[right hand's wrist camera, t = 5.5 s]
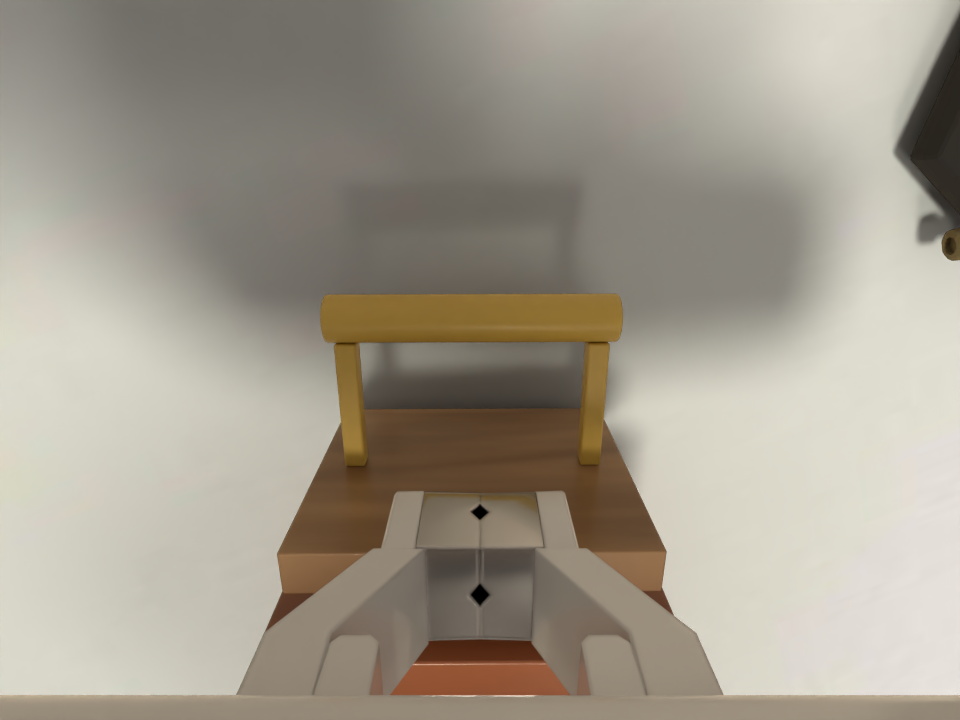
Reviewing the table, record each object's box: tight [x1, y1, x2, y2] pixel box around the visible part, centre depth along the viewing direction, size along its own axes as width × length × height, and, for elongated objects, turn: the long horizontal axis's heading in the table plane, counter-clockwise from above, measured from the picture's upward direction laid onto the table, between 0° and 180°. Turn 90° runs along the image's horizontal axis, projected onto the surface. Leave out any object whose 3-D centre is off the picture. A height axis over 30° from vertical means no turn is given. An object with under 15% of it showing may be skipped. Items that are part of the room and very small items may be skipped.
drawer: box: [277, 294, 666, 594], centre depth 20 cm, size 26×9×8 cm, turn 0°
